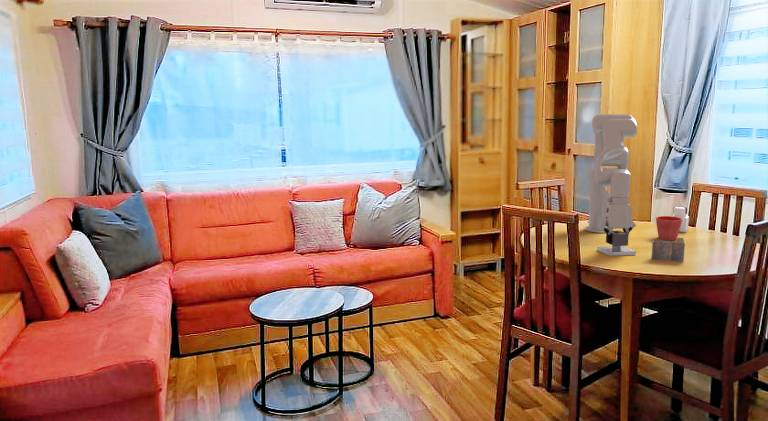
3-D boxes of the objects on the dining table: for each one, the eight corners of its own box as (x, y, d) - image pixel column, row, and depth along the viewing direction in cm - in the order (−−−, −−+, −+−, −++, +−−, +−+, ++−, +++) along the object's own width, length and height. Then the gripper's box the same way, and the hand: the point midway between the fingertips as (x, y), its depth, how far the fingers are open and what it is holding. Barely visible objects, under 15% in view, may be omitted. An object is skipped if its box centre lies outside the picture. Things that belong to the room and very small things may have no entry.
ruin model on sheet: (682, 260, 230) (683, 236, 229) (683, 262, 228) (685, 238, 226) (651, 258, 234) (652, 235, 232) (652, 260, 231) (653, 237, 229)
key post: (597, 250, 247) (597, 236, 246) (623, 249, 248) (624, 235, 247) (608, 256, 237) (609, 241, 236) (635, 254, 238) (636, 240, 237)
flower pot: (675, 242, 260) (676, 221, 259) (650, 238, 268) (652, 218, 267) (684, 238, 267) (686, 218, 266) (660, 235, 275) (661, 215, 274)
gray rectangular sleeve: (605, 242, 245) (606, 230, 244) (619, 241, 246) (619, 229, 245) (614, 246, 238) (614, 233, 237) (627, 245, 238) (628, 233, 238)
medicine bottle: (672, 228, 290) (673, 205, 288) (687, 229, 286) (689, 206, 284) (669, 230, 284) (671, 207, 282) (685, 232, 280) (687, 208, 278)
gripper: (603, 202, 234) (601, 245, 237) (643, 201, 236) (640, 244, 239) (595, 200, 242) (593, 241, 244) (633, 199, 243) (631, 240, 246)
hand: (616, 242), depth 242 cm, fingers closed on gray rectangular sleeve, 6 cm apart
